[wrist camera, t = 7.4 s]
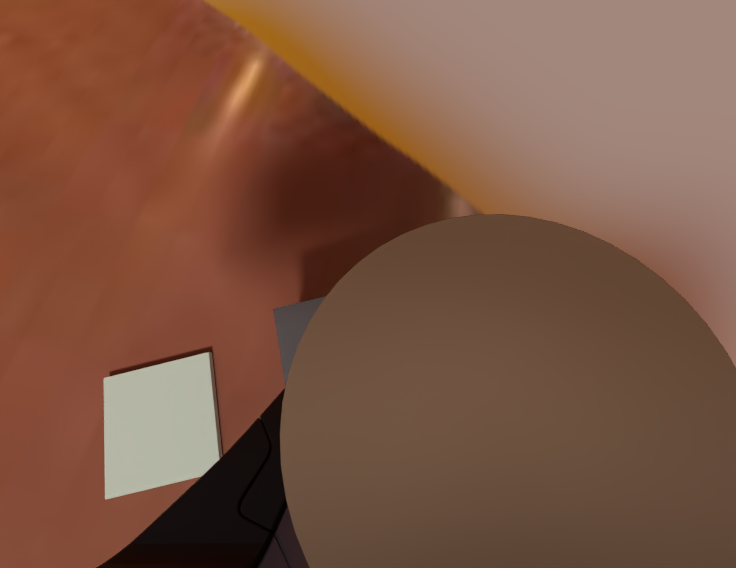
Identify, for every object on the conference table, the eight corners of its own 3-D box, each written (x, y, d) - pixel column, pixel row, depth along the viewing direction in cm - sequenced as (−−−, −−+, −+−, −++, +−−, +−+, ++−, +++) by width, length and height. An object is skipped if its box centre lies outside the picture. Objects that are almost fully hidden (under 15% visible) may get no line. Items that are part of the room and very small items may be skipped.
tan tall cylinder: (444, 441, 13) (751, 871, 2) (362, 408, 14) (203, 578, 2) (468, 356, 14) (786, 285, 3) (389, 329, 15) (369, 172, 3)
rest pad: (224, 469, 19) (220, 471, 19) (110, 497, 19) (105, 499, 19) (211, 352, 21) (208, 352, 21) (109, 377, 21) (103, 378, 21)
